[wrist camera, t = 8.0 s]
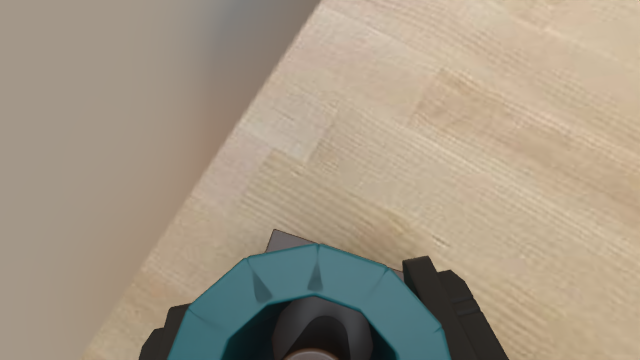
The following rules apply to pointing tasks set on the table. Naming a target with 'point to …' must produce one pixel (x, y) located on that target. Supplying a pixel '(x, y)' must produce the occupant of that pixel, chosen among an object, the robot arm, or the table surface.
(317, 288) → the teal hollow cylinder
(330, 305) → the ring toss
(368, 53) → the table surface
